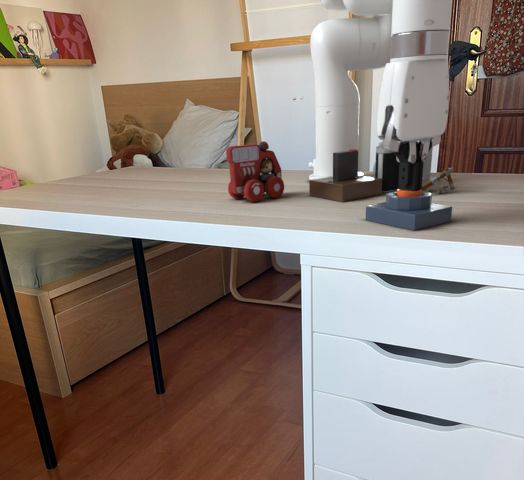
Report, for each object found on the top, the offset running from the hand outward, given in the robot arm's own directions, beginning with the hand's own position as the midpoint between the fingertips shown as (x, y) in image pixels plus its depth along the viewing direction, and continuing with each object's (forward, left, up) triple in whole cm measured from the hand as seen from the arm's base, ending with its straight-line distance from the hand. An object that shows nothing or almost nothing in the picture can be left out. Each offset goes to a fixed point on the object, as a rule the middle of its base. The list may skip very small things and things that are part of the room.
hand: (409, 189), depth 79 cm
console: (-24, +9, -5) cm, 26 cm away
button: (0, 0, -2) cm, 2 cm away
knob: (-24, +9, -2) cm, 26 cm away
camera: (-24, +22, -5) cm, 33 cm away
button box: (0, 0, -5) cm, 5 cm away
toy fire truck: (-35, -5, -5) cm, 36 cm away
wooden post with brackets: (-12, +20, -5) cm, 24 cm away
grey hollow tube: (-16, +20, -5) cm, 26 cm away
